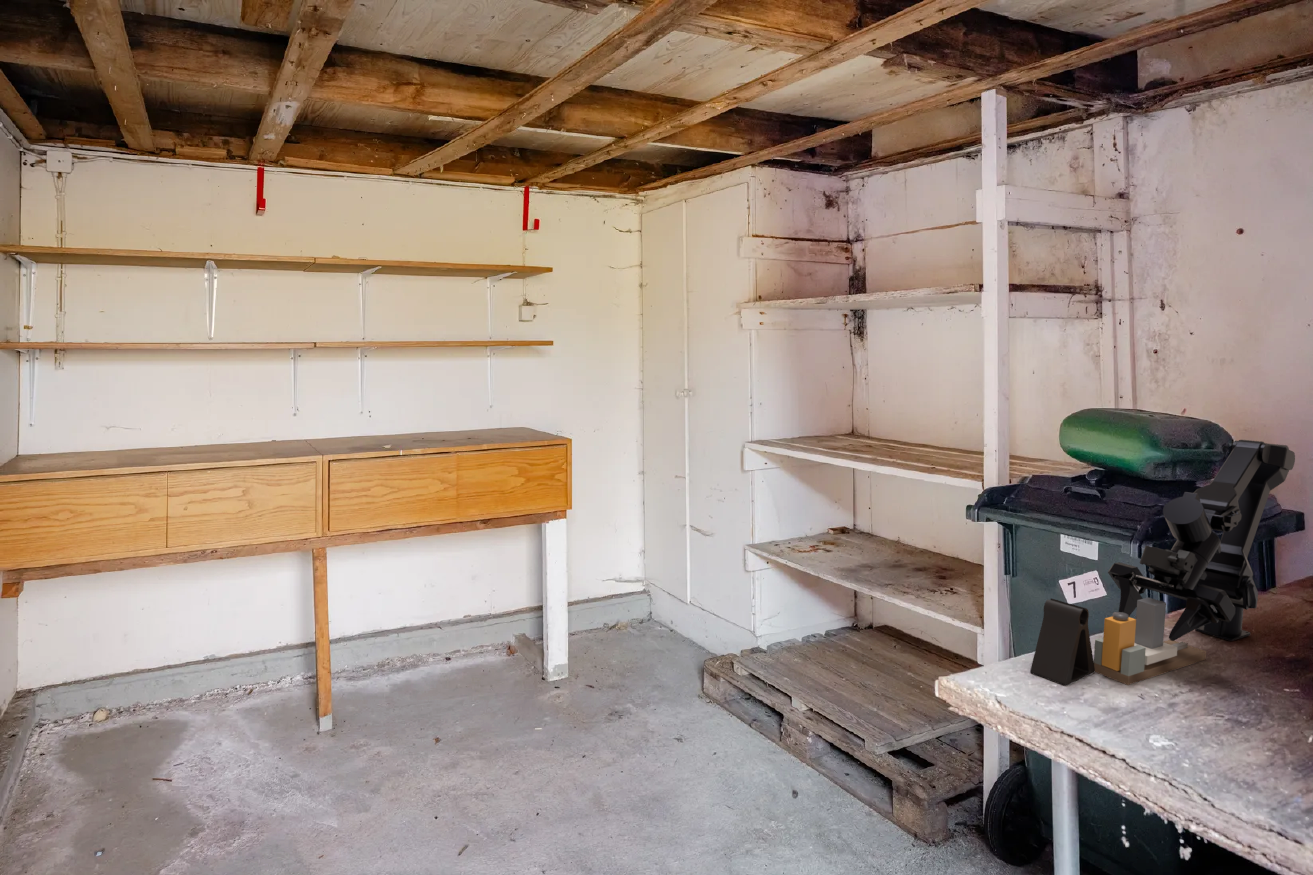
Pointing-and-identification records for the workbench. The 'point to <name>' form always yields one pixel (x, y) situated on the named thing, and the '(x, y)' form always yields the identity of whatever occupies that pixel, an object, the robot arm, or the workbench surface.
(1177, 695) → the workbench surface
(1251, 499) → the robot arm
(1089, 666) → the phone stand
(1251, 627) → the workbench surface
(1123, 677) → the rail bed
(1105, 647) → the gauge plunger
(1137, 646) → the end housing
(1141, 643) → the carriage
